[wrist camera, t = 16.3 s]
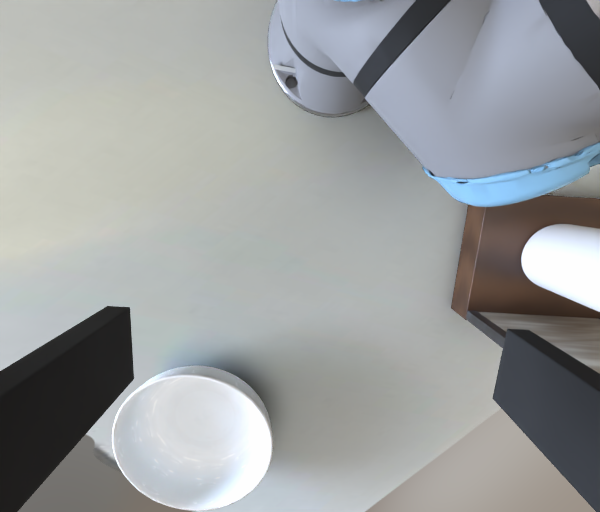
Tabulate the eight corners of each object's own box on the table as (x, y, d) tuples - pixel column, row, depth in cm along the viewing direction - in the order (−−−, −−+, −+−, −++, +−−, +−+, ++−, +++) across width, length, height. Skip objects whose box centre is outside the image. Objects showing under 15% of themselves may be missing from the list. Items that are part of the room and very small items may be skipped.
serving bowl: (214, 491, 51) (201, 537, 44) (110, 411, 48) (78, 448, 41) (305, 410, 48) (306, 446, 41) (199, 319, 45) (182, 342, 38)
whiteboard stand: (470, 191, 41) (611, 194, 22) (608, 199, 41) (861, 209, 23) (450, 308, 44) (559, 394, 26) (578, 315, 44) (777, 406, 26)
